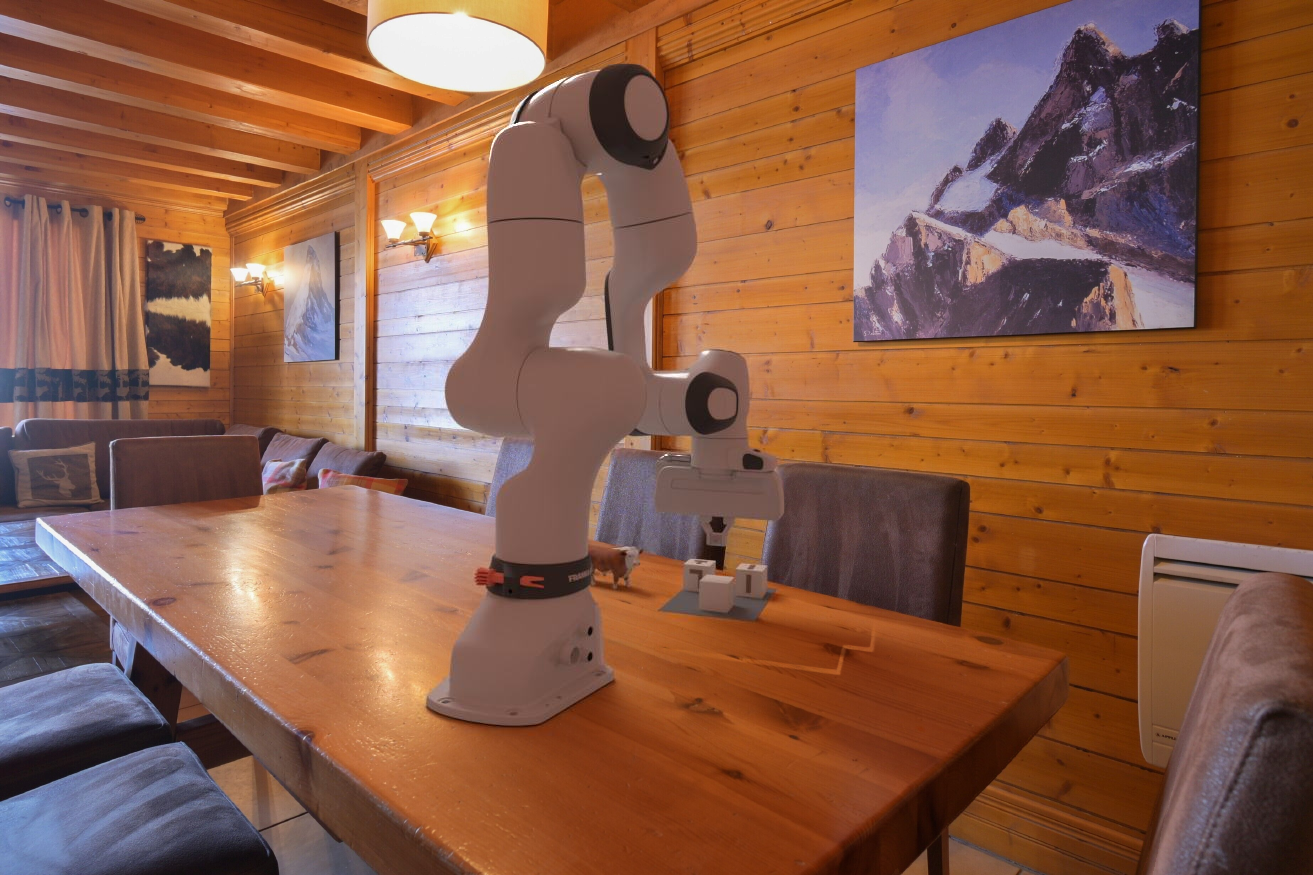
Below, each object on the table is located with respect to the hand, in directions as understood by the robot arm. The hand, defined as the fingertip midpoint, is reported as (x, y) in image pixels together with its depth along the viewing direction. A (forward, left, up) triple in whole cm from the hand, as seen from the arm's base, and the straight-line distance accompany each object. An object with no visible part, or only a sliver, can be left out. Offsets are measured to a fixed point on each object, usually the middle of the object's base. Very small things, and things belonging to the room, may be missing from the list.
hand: (716, 545), depth 115 cm
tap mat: (+5, 0, -11) cm, 12 cm away
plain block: (0, 0, -10) cm, 10 cm away
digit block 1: (+10, -4, -10) cm, 15 cm away
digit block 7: (+10, +5, -10) cm, 15 cm away
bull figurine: (+6, +20, -11) cm, 23 cm away
